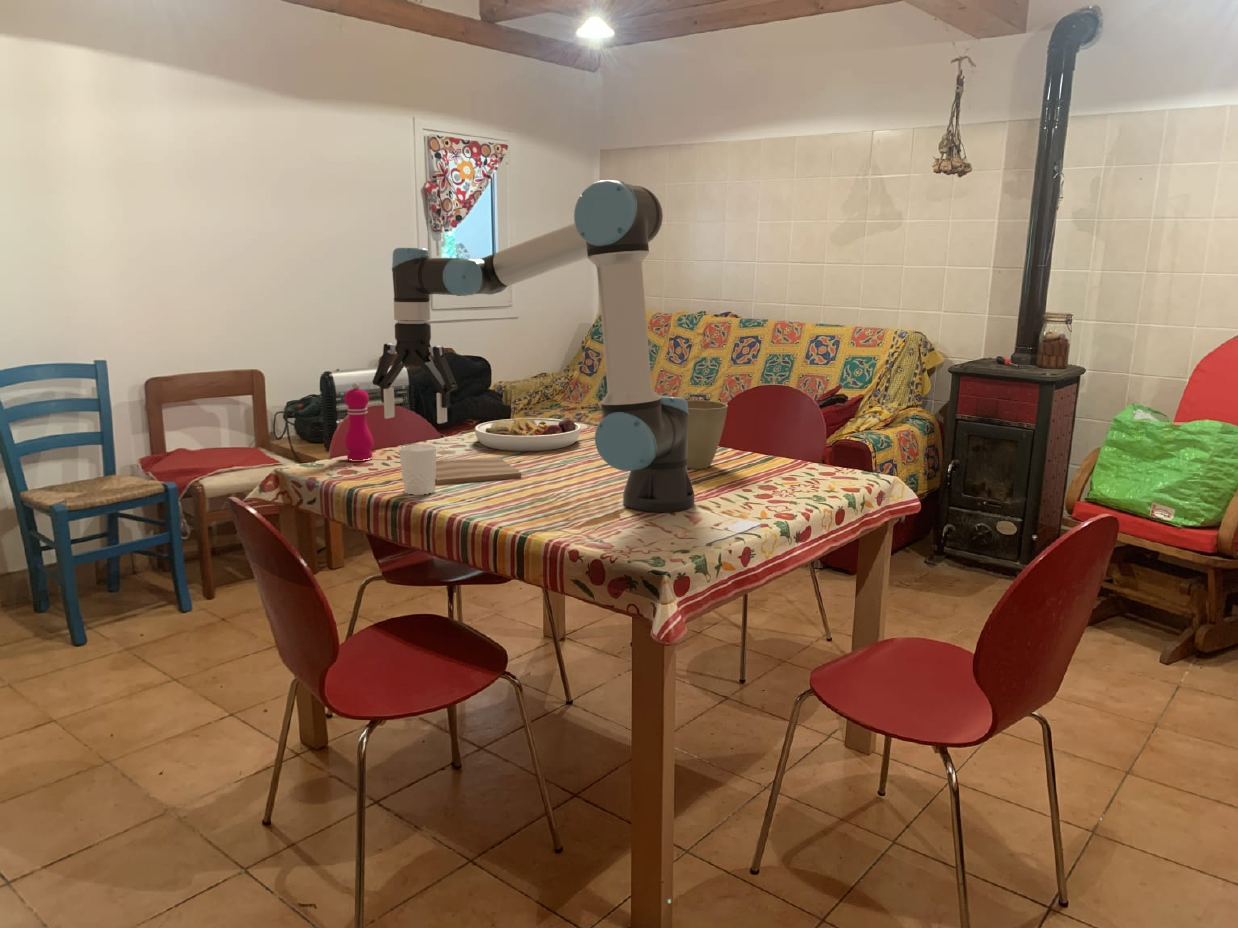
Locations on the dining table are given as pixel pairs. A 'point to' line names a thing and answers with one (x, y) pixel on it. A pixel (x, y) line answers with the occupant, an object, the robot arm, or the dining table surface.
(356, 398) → the pepper mill
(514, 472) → the walnut board
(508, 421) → the bowl
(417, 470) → the white cup
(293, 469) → the dining table surface
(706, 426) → the plant pot
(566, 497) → the dining table surface
